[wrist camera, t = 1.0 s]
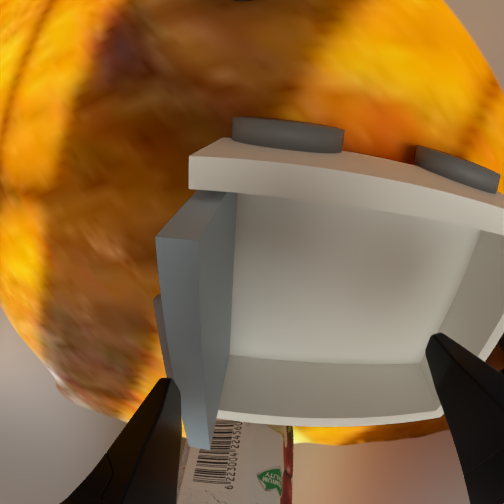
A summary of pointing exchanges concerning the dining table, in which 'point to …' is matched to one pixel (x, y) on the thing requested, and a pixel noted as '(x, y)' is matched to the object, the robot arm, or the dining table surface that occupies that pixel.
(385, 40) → the dining table surface
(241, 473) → the juice carton
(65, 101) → the dining table surface
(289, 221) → the cart
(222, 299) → the panel
